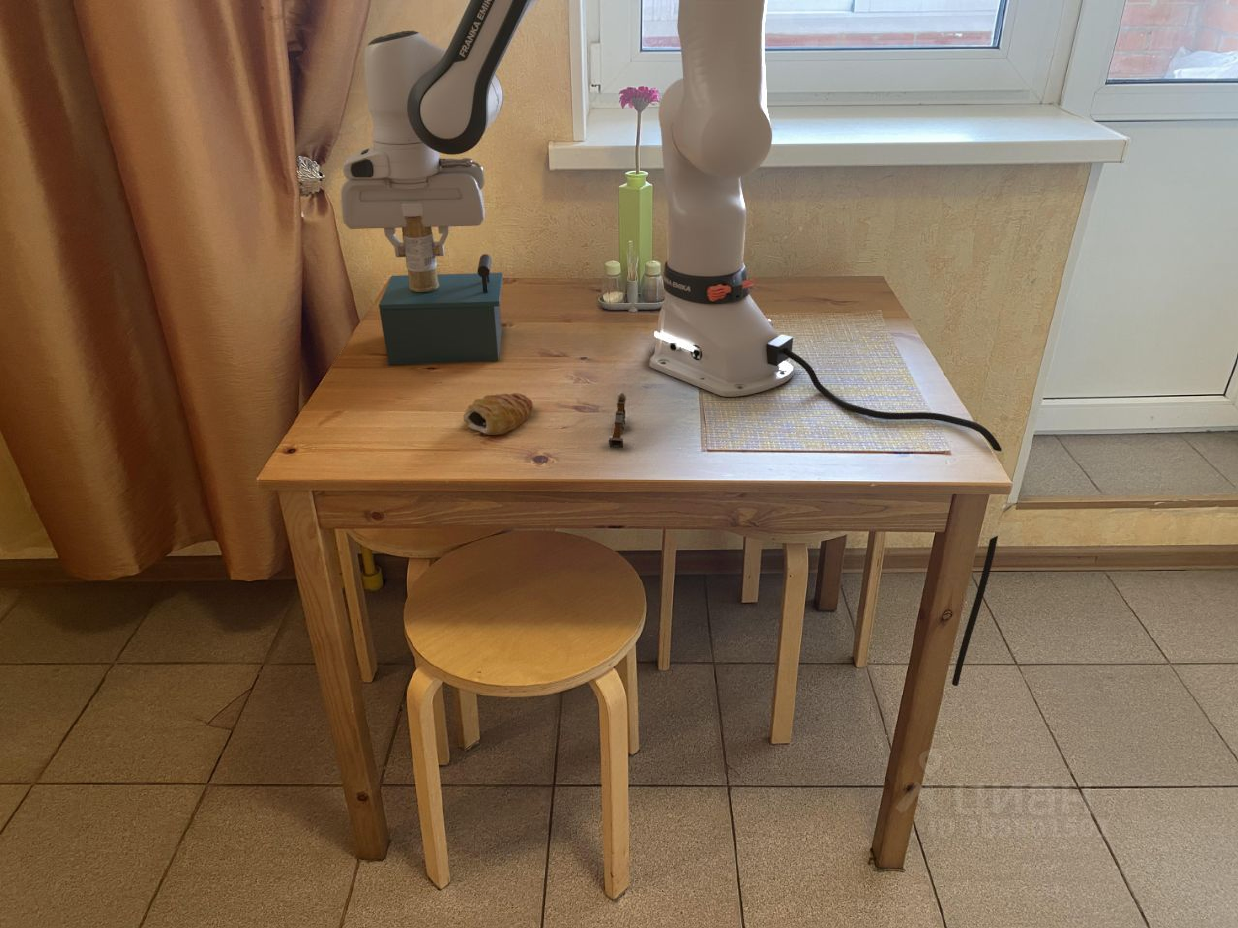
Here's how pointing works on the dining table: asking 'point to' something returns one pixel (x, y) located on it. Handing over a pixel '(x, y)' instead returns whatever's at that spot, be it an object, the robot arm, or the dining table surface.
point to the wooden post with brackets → (618, 424)
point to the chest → (442, 335)
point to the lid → (447, 290)
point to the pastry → (498, 413)
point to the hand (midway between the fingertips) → (420, 255)
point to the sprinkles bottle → (419, 250)
